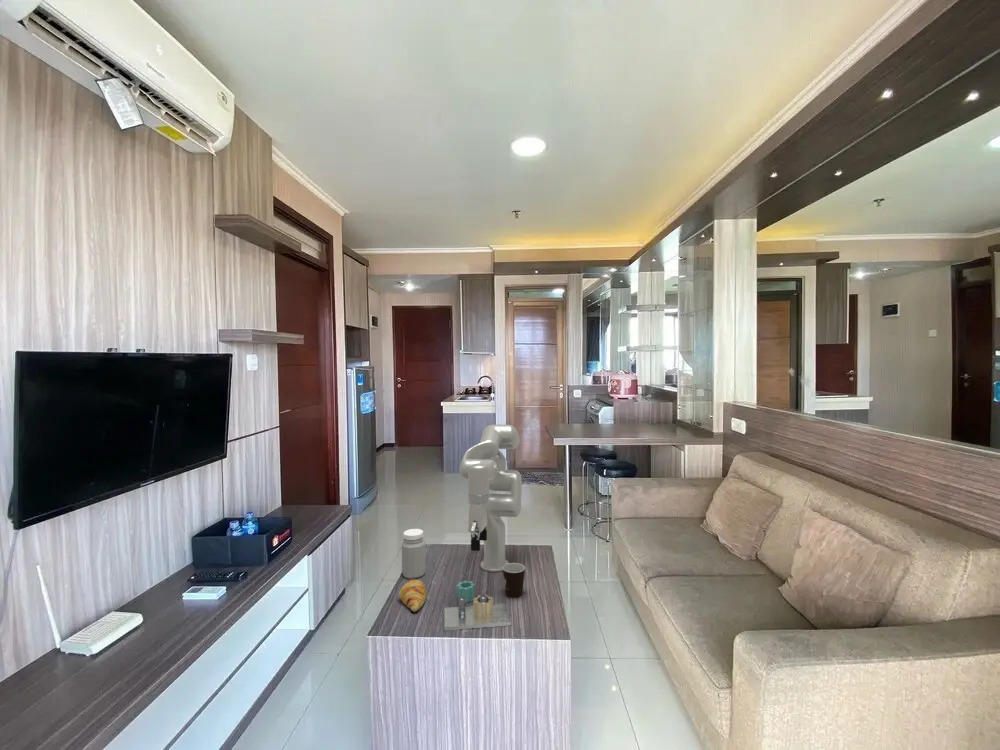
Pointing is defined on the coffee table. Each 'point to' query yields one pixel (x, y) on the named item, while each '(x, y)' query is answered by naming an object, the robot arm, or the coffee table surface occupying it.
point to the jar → (413, 554)
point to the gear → (466, 590)
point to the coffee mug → (513, 579)
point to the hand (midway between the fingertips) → (479, 545)
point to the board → (476, 614)
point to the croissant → (413, 594)
